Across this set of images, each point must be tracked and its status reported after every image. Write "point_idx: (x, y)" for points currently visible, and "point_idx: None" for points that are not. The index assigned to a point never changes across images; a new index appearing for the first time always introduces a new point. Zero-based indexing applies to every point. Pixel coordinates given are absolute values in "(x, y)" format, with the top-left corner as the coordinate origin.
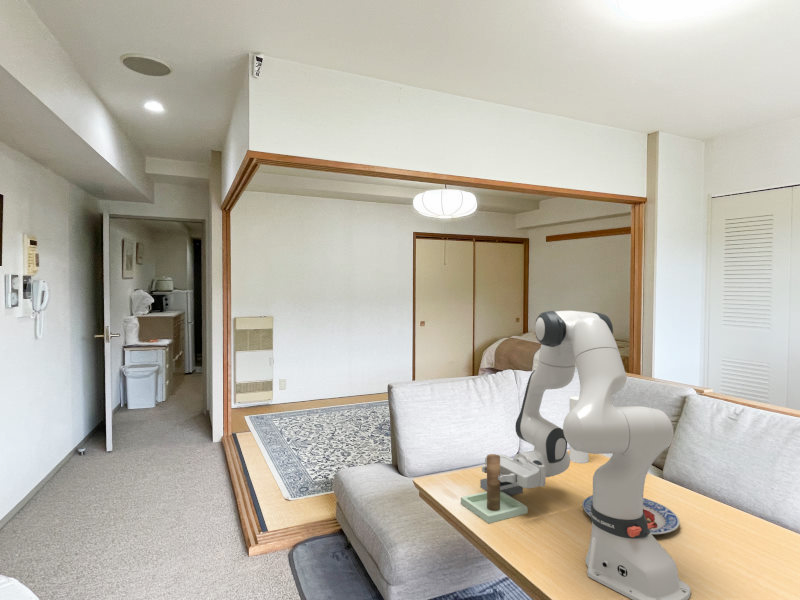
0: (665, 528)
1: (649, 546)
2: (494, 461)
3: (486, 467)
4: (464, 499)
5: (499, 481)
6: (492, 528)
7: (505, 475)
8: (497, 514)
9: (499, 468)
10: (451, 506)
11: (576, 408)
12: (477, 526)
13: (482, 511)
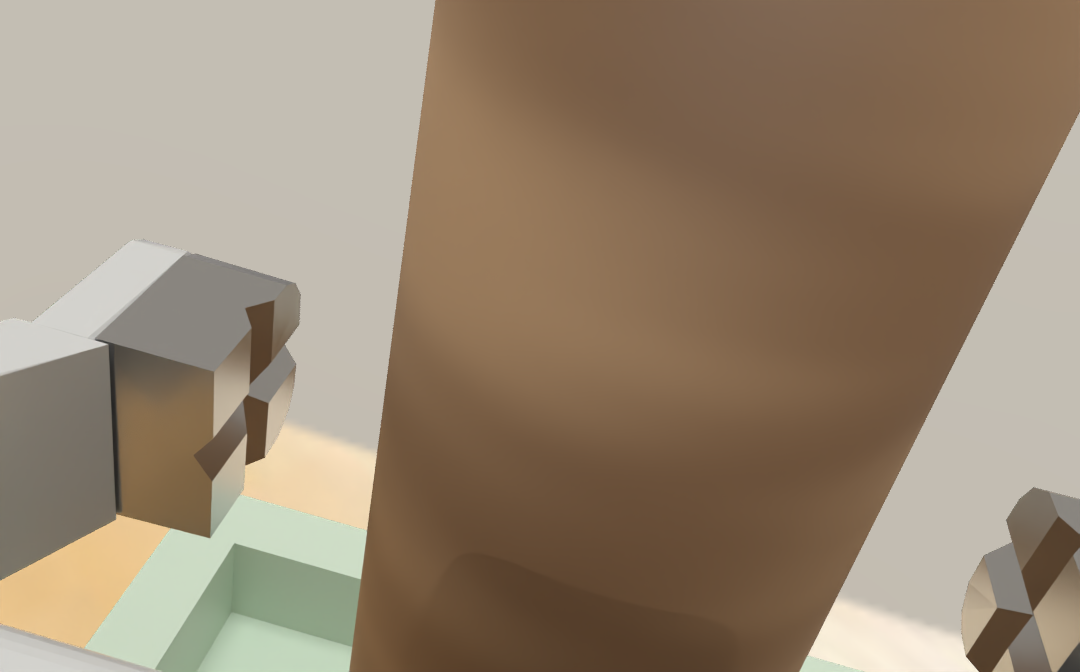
0: None
1: None
2: None
3: (1077, 544)
4: (832, 667)
5: (360, 661)
6: (117, 545)
7: (36, 322)
8: (116, 605)
9: (410, 271)
10: (892, 657)
11: None
12: (302, 485)
13: (364, 542)
